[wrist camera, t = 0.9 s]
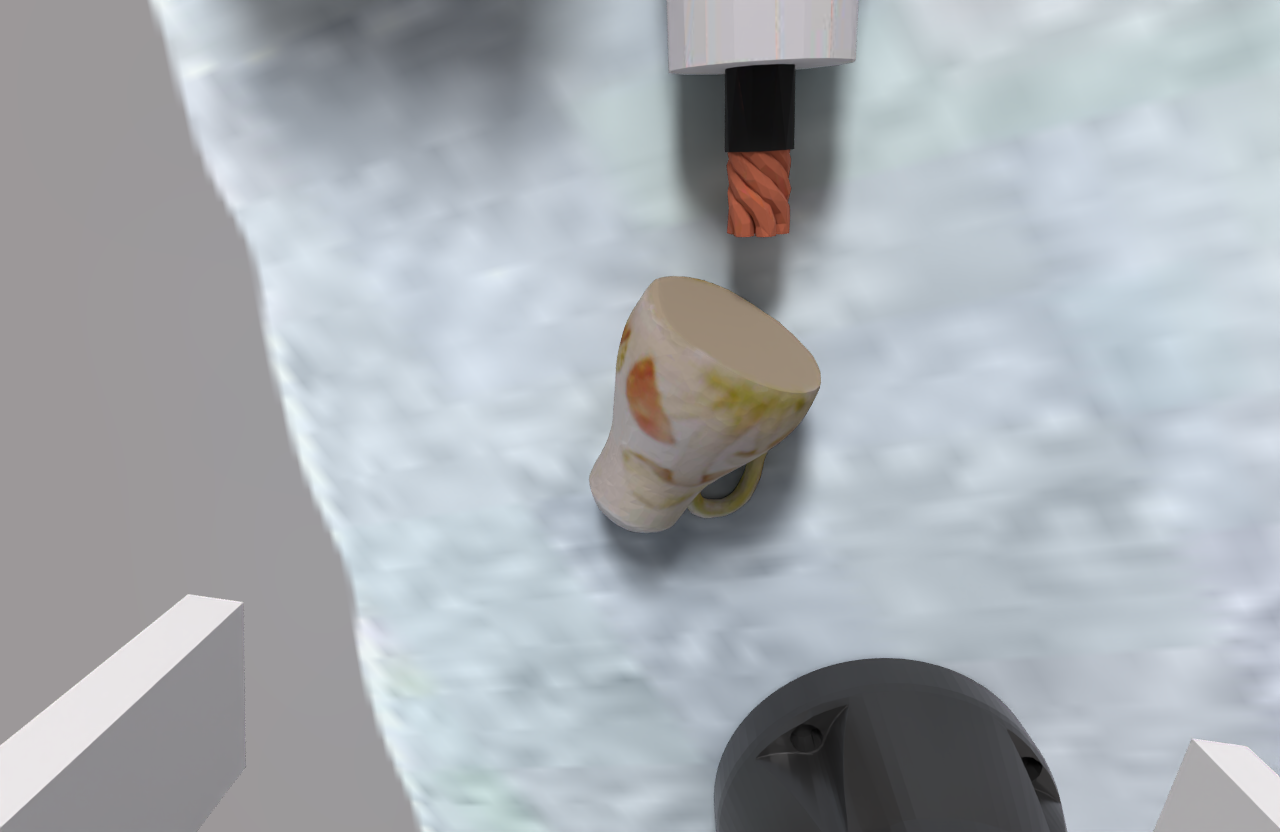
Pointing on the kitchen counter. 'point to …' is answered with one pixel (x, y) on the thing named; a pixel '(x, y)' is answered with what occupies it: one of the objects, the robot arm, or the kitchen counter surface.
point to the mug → (697, 403)
